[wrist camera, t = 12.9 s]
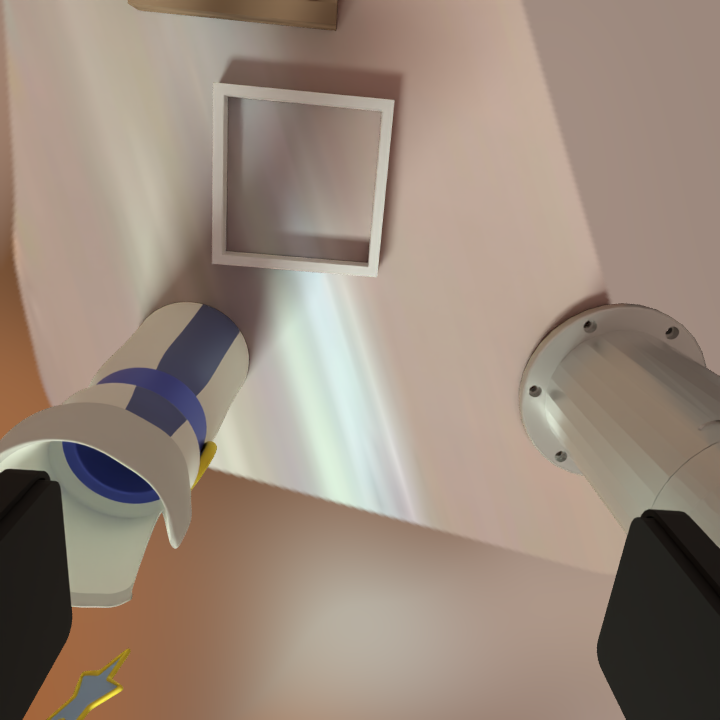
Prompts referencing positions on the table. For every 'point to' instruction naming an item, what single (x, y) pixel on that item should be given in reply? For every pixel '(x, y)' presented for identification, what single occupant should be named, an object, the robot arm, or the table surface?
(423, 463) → the table surface
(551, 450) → the robot arm
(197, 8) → the tray
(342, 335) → the table surface
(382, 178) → the frame
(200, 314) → the water bottle
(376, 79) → the table surface
